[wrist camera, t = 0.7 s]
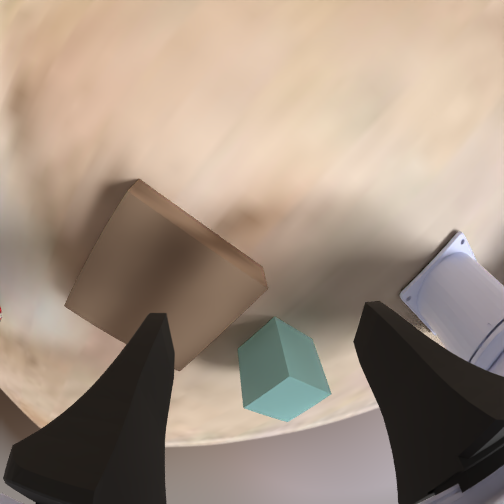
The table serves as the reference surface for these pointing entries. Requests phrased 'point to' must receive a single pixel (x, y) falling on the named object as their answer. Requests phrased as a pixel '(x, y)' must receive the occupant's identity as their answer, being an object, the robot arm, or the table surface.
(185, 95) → the table surface
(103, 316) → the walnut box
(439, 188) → the table surface
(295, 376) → the teal block
